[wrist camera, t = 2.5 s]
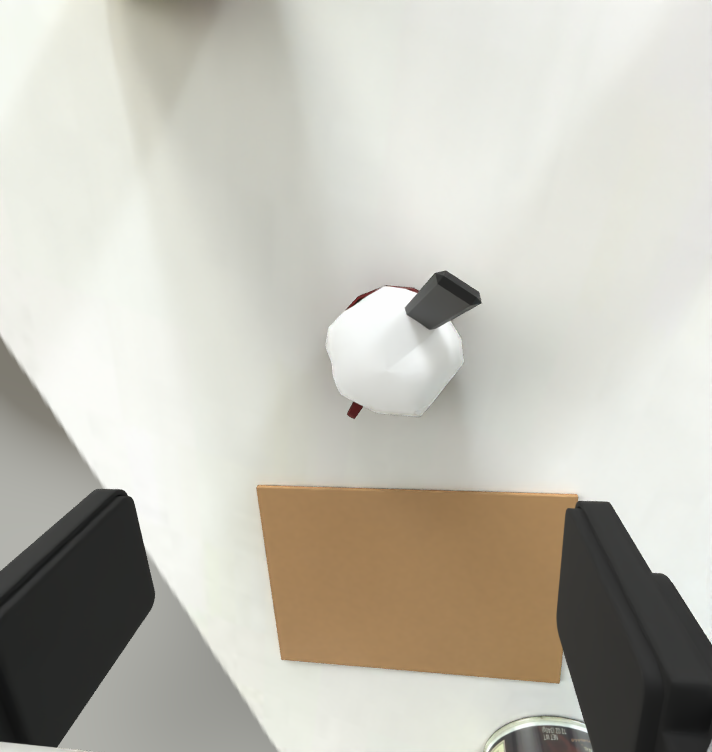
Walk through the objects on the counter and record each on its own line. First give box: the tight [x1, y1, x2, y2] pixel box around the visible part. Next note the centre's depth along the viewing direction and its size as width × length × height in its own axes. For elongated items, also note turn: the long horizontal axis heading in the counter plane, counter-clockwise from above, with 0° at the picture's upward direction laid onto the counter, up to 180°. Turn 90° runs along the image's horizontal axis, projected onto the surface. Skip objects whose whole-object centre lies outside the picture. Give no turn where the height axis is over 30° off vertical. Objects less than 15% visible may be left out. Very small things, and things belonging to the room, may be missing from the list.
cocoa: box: [325, 271, 481, 419], centre depth 23 cm, size 10×6×12 cm, turn 127°
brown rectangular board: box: [256, 485, 578, 683], centre depth 34 cm, size 20×15×1 cm
